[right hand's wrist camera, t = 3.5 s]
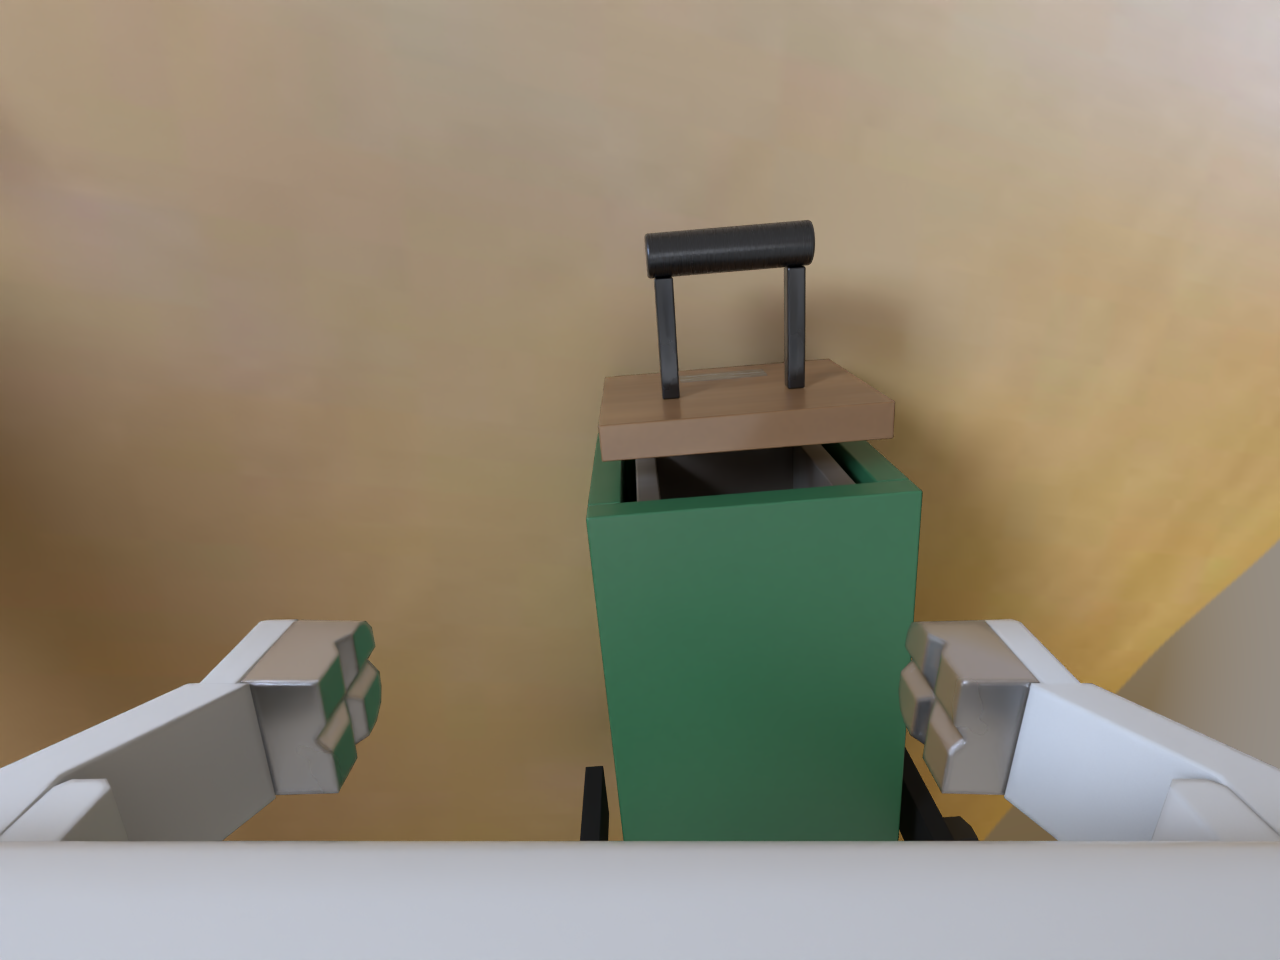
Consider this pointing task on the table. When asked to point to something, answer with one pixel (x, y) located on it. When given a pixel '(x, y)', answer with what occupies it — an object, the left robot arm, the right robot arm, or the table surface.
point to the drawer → (736, 386)
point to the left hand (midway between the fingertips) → (744, 778)
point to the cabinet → (757, 653)
